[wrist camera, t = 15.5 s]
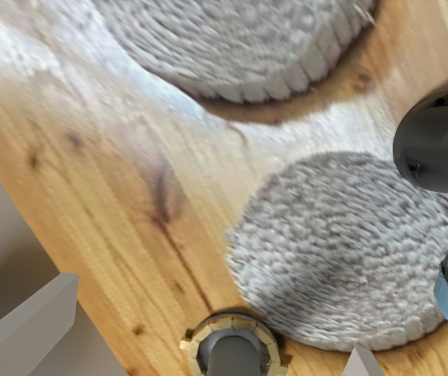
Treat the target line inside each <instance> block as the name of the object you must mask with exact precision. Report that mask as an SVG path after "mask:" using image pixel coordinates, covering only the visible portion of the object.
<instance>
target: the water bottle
mask: <svg viewBox="0 0 448 376" xmlns="http://www.w3.org/2000/svg"><path fill="white" fill-rule="evenodd" d="M207 376H261V374H260V360H259V354H258V352H257V350H256V348H255V347H254V346H253V345H252V344H251V343H250V342H249V341H247V340H245V339H243V338H240V337H226V338H223V339H221V340H219V341H218V342H217V343H216V344H215V345H214V346H213V348H212V350H211V352H210V357H209V364H208V371H207Z"/></svg>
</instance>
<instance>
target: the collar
mask: <svg viewBox="0 0 448 376" xmlns="http://www.w3.org/2000/svg"><path fill="white" fill-rule="evenodd" d="M226 337H240V338H243V339H245V340H247V341H249V342H250V343H251V344H252V345H253V346H254V347H255V348H256V350H257V352H258V354H259V360H260V374H261V376H276V374H279V375H283V376H286V374H287V371H288V364H284V363H280V355H279V349H278V344H277V340H276V338H275V336H274V334H273V333H272V331H271V330H270V329H269V328H268V327H267V326H266V325H265V324H264V323H263V322H262V321H260V320H258V319H257V318H255V317H253V316H250V315H247V314H244V313H239V312H224V313H219V314H215V315H213V316H210V317H208V318H207V319H205V320H204V321H202V322H201V323H200V324H199V325H198V326H197V328H196V329H195V331H194V333H193V334H192V337H191V339H189V338H185V337H182V339H181V343H180V348H181V349H185V350H188V351H189V353H188V361H189V363H190V366H191V369H192V371H193V374H194V376H207V371H208V364H209V357H210V352H211V350H212V348H213V346H214V345H215V344H216V343H217V342H218V341H219V340H221V339H223V338H226Z"/></svg>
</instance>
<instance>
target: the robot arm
mask: <svg viewBox="0 0 448 376" xmlns="http://www.w3.org/2000/svg"><path fill="white" fill-rule="evenodd" d="M393 158H394V162H395V165H396V167H397V169H398V171H399V172H400V174H401V175H402V176H403V177H404V178H405V179H406V180H407V181H408V182H410V183H411V184H413V185H415V186H417V187H420V188H423V189H427V190H430V191H434V192H441V193H448V92H443V93H439V94H436V95H433V96H430V97H428V98H426V99H425V100H423V101H421V102H420V103H418V104H417V105H416V106H414V107H413V108H412V109H411V110H410V111H409V112H408V113H407V114H406V116H405V117H404V118H403V120H402V121H401V123H400V124H399V126H398V128H397V131H396V134H395V137H394V141H393ZM78 281H79V275H75V274H71V273H67V272H62V273H61V274H60V275H58V276H57V277H56V278H55V279H53V280H52V281H51V282H49V283H48V284H47V285H45V286H44V287H43V288H41V289H40V290H39V291H38V292H36V293H35V294H34V295H32V296H31V297H30V298H28V299H27V300H26V301H25V302H23V303H22V304H21V305H19V306H18V307H17V308H16V309H14V310H13V311H12V312H10V313H9V314H8V315H6V316H5V317H4V318H2V319H1V320H0V376H28V375H29V374H30V373H31V371H32V370H33V369H34V368H35V367H36V366H37V365H38V364H39V363H40V361H41V360H42V359H43V358H44V357H45V356H46V355H47V353H48V352H49V351H50V350H51V349H52V348H53V347H54V345H56V343H57V342H58V341H59V340H60V339H61V338H62V337H63V335H64V334H65V333H66V332H67V331H68V330H69V329H70V328H71V326H72V325H73V324H74V318H75V310H76V300H77V291H78ZM434 298H435V300H436V302H437V304H438V307H439V309H440V311H441V312H442V313H443V315H444V316H445V317H446V319H447V320H448V251H447V253H446V256H445V258H444V259H443V261H442V262H441V263H440V265H439V275H438V277H437V280H436V283H435V286H434ZM342 376H385V374H384V373H383V371H382V369H381V368H380V366H379V364H378V362H377V361H376V359H375V357H374V356H373V354H372V352H371V351H368V350H364V349H360V348H356V347H354V349H353V351H352V354H351V356H350V358H349V360H348V363H347V365H346V367H345V370H344V372H343V374H342Z"/></svg>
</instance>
